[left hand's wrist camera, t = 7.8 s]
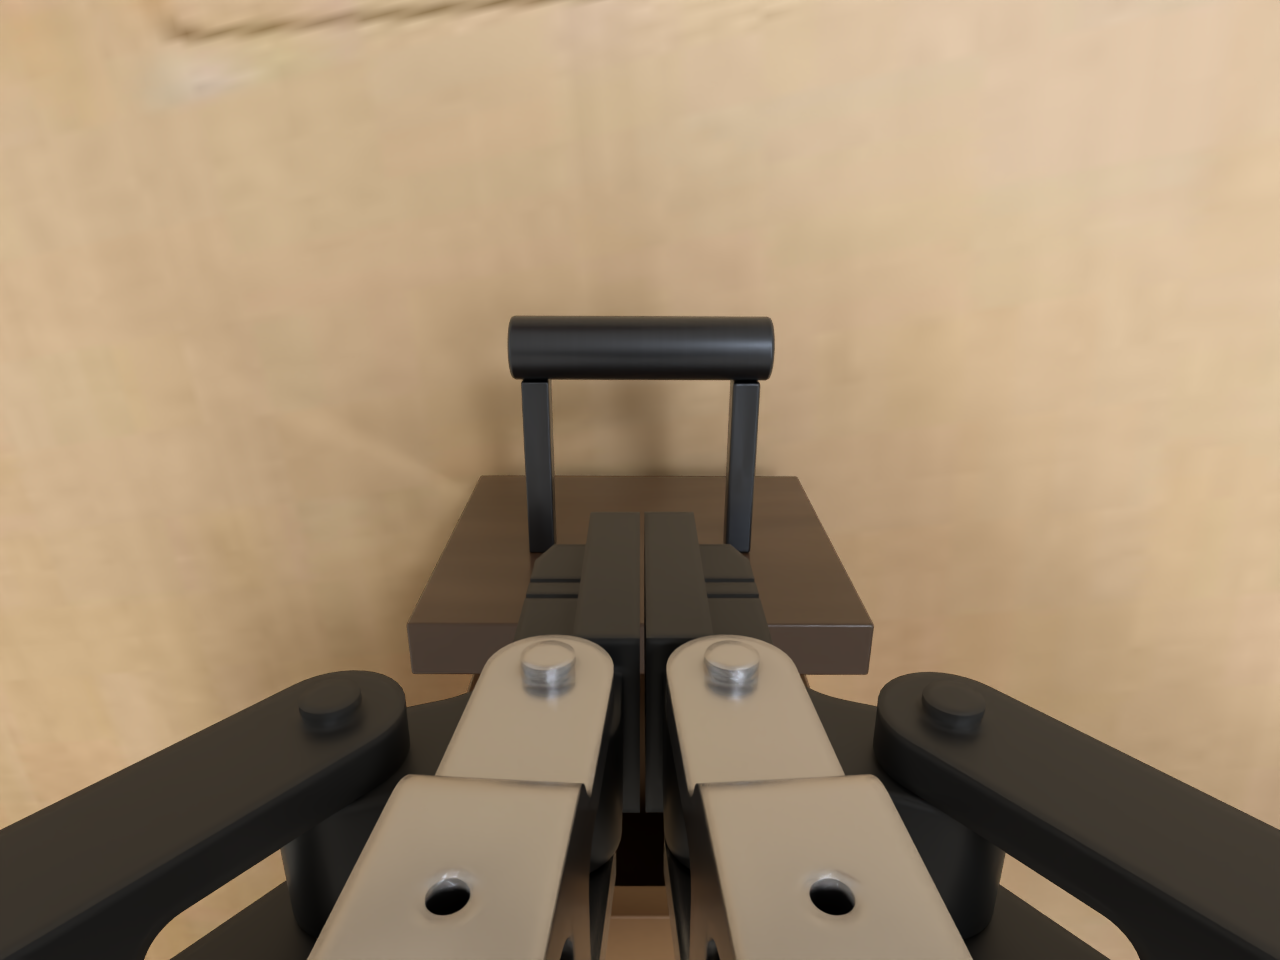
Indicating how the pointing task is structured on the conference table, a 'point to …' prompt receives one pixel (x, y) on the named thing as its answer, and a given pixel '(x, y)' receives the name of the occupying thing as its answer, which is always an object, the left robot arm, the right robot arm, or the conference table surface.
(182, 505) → the conference table surface
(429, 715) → the left robot arm
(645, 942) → the cabinet
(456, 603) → the drawer
